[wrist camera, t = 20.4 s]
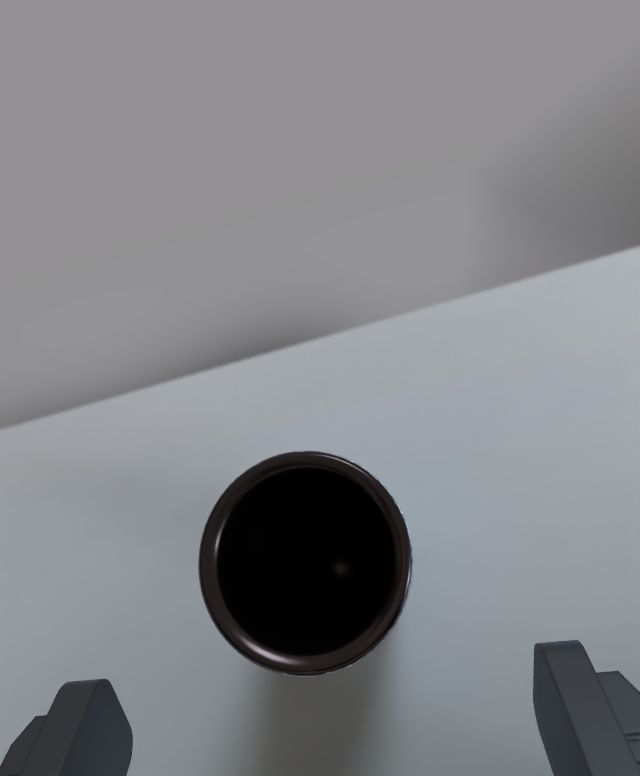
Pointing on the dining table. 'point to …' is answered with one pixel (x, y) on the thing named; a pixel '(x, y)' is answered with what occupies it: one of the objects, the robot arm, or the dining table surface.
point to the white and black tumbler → (305, 563)
